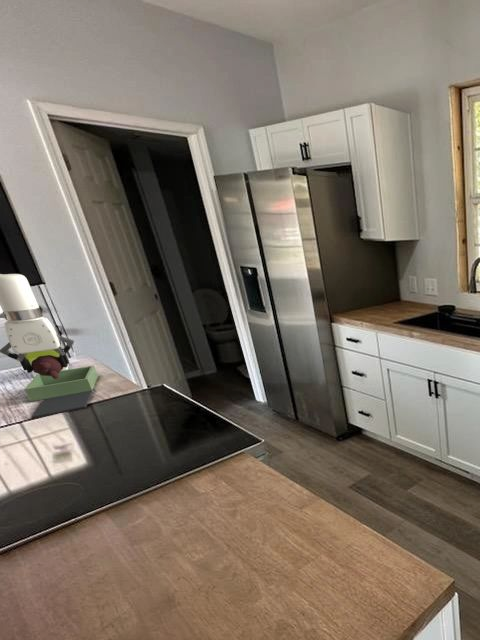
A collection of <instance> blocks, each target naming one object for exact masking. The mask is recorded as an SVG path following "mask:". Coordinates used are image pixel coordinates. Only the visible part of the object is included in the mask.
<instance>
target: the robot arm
mask: <svg viewBox="0 0 480 640" xmlns="http://www.w3.org/2000/svg"><path fill="white" fill-rule="evenodd" d="M0 308H1V310H2V312H1V313H0V319H4V320H5V321H4V322H3V324H4V330H5V333H6V336H7V340H8V341H9V342H8V343H6V344H5V345H4V346H3V347H1V349H0V354H3V355H5V356H7V357H9V358H10V359H12V360H16V361H17V362H19V363H20V365H21V367H22V369H23V371H26V372H27V373H28V374H32V371H33V370H32V369H31V364H30V362H29V360H28V359H26V358H25V356H26V354H27V353H33V352H40V351H48V350H54V351H56V352H57V353H59V355H60V356H59V358H60V361H61V363H62V365H63V367H67V366H68V364H69V365H70V360H69V358H68V355H67V353H68V352H69V351H70V350H71V348H72V346H73V345H74V343H75V340H74V339H70V338H68V337H64V336H62V335H60V334H59V335H58V333H57V331H56V329H55V327H54V326H53V324H52V323H51V321H50V320H49V318H48V317H46V316H44V315H43V312H42V311H41V308H40V305H39V303H38V301H37V299H36V297H35V294H34V292H33V289H32V286H31V285H30V282H29V280H28V279H27V277H26V276H25V275H23V274H20V273H8V274H7V273H5V274H3V273H0ZM62 342H63V343H66V345H65V346H64V347H62ZM60 345H61V347H60ZM10 349H12V351H13V352H12V351H10Z"/></svg>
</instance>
